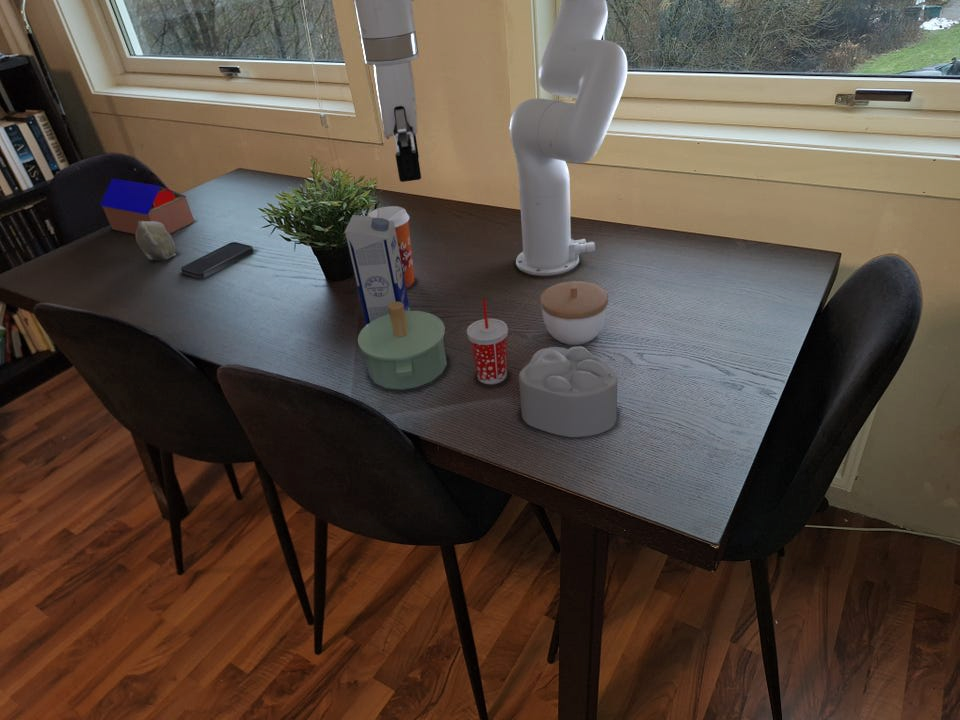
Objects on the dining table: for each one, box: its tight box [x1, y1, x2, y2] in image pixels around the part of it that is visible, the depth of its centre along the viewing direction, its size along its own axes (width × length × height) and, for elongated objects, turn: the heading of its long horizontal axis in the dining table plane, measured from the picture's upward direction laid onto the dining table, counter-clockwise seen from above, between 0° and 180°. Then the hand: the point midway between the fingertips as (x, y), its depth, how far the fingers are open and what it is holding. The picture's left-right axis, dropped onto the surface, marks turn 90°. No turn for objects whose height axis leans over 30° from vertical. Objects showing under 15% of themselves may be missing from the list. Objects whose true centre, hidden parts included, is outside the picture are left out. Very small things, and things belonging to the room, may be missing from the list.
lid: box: [357, 302, 446, 361], centre depth 102 cm, size 14×14×6 cm
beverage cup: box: [466, 298, 509, 385], centre depth 98 cm, size 6×6×14 cm
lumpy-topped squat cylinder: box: [518, 345, 618, 438], centre depth 91 cm, size 10×13×9 cm
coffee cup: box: [367, 205, 415, 288], centre depth 127 cm, size 8×8×15 cm
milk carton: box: [344, 214, 411, 326], centre depth 113 cm, size 7×7×20 cm
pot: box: [363, 310, 448, 390], centre depth 105 cm, size 13×18×6 cm
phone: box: [180, 241, 254, 279], centre depth 148 cm, size 8×1×15 cm
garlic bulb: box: [135, 221, 177, 262], centre depth 152 cm, size 9×8×10 cm
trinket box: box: [540, 280, 609, 346], centre depth 107 cm, size 11×11×9 cm
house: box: [99, 178, 195, 235], centre depth 169 cm, size 12×20×12 cm, turn 59°
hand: (409, 169), depth 101 cm, fingers open, 9 cm apart
